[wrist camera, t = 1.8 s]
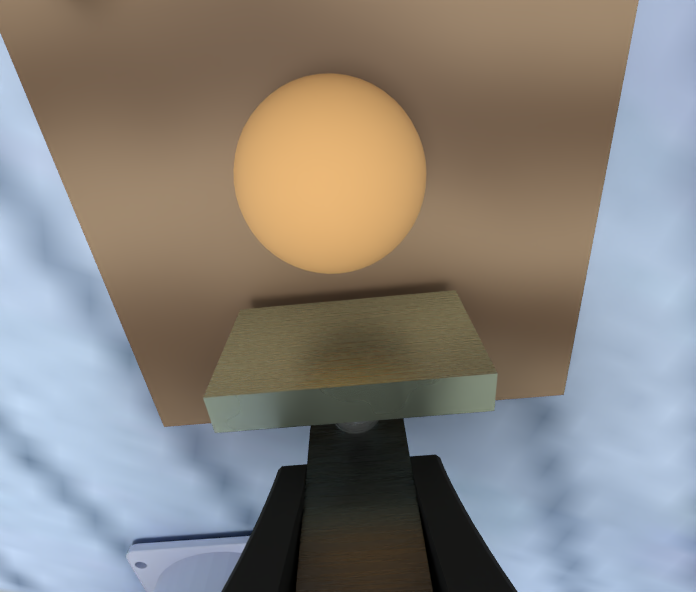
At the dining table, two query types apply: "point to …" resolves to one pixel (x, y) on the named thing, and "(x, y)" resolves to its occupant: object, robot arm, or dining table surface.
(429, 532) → the robot arm
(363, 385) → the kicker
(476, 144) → the brown piece
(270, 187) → the ball
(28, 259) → the dining table surface
